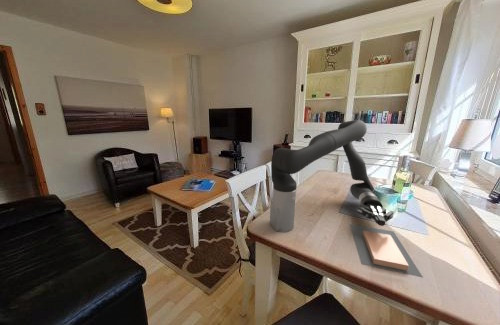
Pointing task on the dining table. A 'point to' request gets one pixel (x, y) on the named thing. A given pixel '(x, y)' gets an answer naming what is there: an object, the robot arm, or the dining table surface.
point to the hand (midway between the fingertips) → (381, 223)
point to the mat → (366, 256)
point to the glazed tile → (384, 250)
